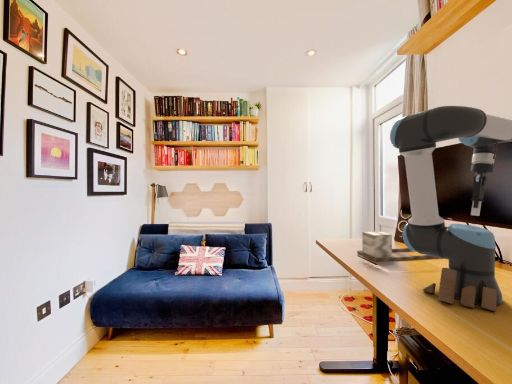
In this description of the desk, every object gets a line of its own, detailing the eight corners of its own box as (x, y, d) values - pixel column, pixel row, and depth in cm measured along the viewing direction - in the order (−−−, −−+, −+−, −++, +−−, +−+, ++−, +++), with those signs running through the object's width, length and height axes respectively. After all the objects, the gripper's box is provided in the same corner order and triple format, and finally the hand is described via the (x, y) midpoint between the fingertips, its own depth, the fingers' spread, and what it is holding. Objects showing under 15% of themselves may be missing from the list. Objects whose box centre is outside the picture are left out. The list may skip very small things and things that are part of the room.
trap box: (375, 264, 115) (375, 258, 115) (357, 256, 129) (357, 250, 129) (453, 259, 122) (453, 253, 122) (427, 252, 137) (427, 246, 137)
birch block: (373, 259, 118) (373, 235, 117) (362, 254, 127) (362, 232, 126) (391, 258, 119) (391, 234, 119) (379, 253, 128) (379, 231, 128)
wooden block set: (495, 318, 72) (497, 283, 74) (494, 316, 66) (497, 279, 69) (423, 296, 85) (427, 267, 87) (418, 293, 79) (422, 262, 82)
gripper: (491, 160, 102) (483, 215, 102) (496, 166, 110) (488, 217, 110) (468, 161, 108) (460, 213, 108) (474, 166, 116) (467, 215, 116)
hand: (475, 215), depth 109 cm, fingers closed
